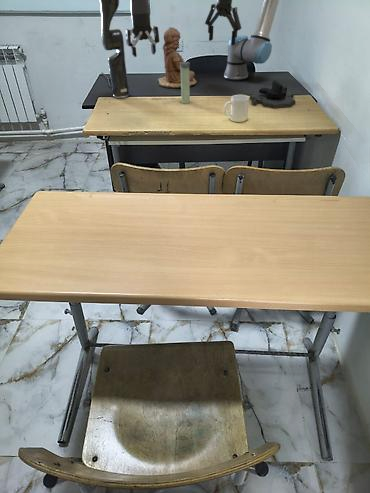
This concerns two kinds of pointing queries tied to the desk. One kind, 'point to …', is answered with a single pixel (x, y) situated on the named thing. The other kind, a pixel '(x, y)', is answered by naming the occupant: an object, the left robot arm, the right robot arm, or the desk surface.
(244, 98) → the mug
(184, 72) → the bottle
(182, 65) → the lid
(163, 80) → the sculpture
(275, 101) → the abstract sculpture
